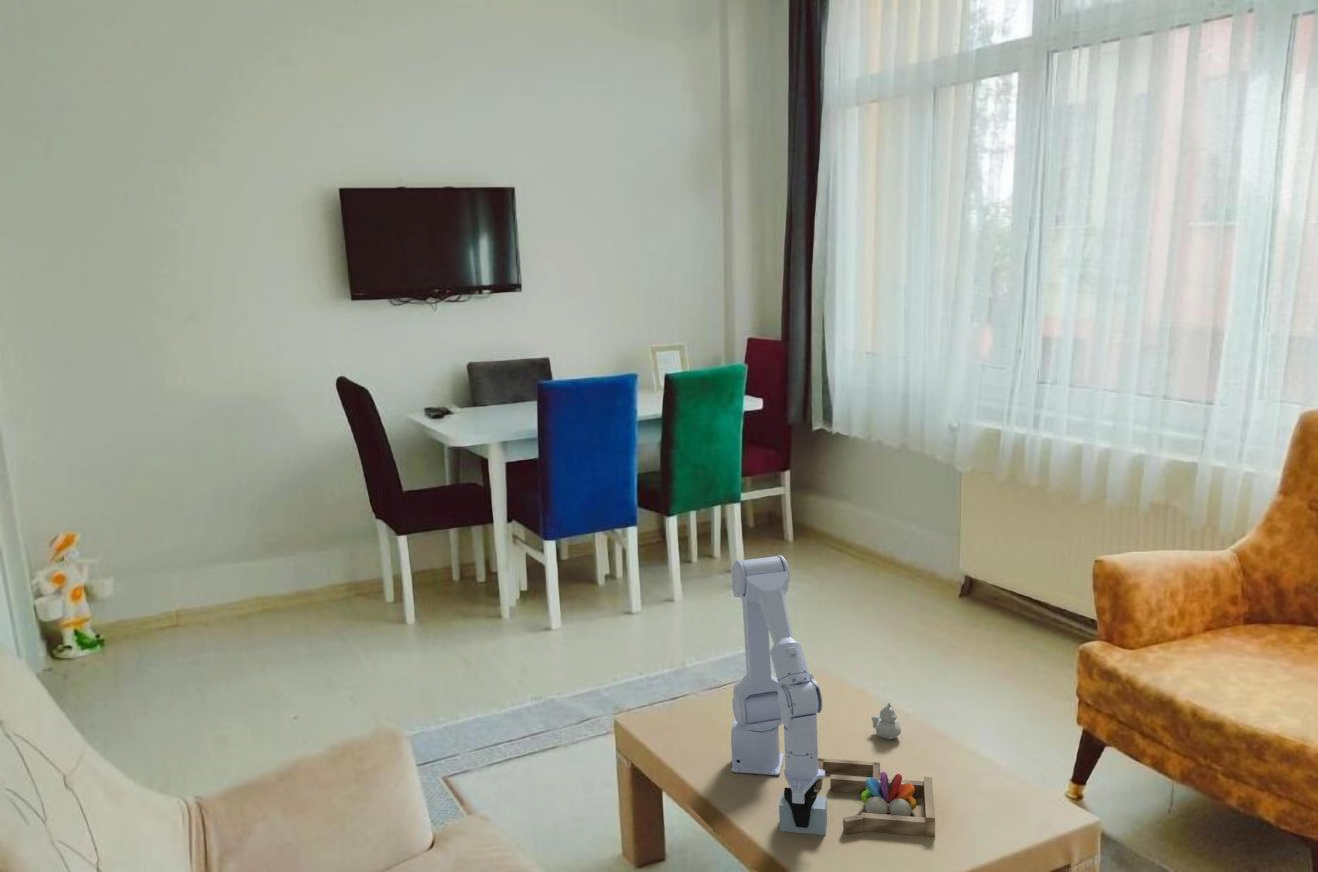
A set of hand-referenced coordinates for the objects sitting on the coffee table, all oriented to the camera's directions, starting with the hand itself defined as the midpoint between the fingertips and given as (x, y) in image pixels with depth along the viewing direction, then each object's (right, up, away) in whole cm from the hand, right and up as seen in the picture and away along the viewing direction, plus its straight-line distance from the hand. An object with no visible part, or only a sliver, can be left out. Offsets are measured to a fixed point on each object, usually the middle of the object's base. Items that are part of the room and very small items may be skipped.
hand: (803, 818), depth 171 cm
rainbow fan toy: (+16, 0, +4) cm, 17 cm away
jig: (+14, +1, +7) cm, 15 cm away
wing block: (0, -2, 0) cm, 2 cm away
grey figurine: (+22, +5, +30) cm, 38 cm away
